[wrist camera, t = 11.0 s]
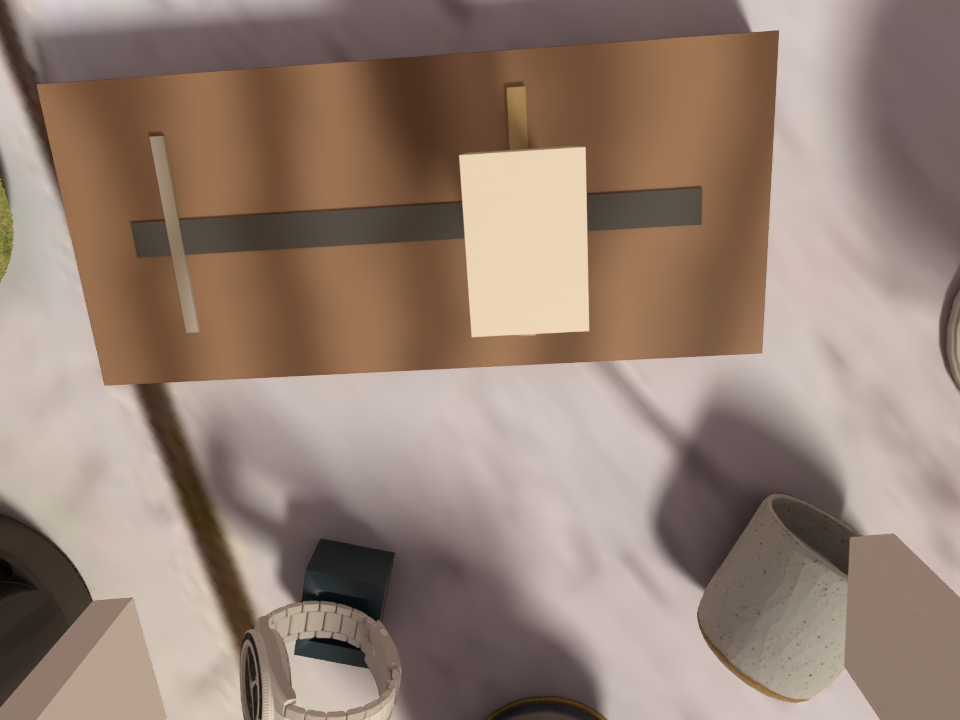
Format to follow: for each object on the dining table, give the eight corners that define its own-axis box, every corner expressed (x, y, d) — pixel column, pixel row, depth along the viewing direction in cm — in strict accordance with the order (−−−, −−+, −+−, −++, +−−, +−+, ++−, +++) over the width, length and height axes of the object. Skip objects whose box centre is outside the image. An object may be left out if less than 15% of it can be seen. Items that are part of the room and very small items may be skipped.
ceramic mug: (673, 591, 41) (711, 689, 34) (745, 473, 39) (803, 552, 32) (832, 656, 43) (902, 765, 35) (912, 545, 40) (1005, 638, 33)
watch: (286, 532, 41) (211, 666, 31) (425, 558, 41) (396, 701, 31) (276, 614, 43) (200, 767, 32) (409, 639, 43) (377, 800, 33)
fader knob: (481, 286, 33) (471, 337, 25) (472, 151, 32) (458, 155, 23) (568, 281, 33) (589, 331, 24) (564, 144, 31) (585, 146, 23)
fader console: (134, 367, 39) (102, 387, 35) (75, 89, 35) (32, 84, 31) (742, 336, 37) (763, 354, 34) (755, 39, 33) (781, 29, 30)
